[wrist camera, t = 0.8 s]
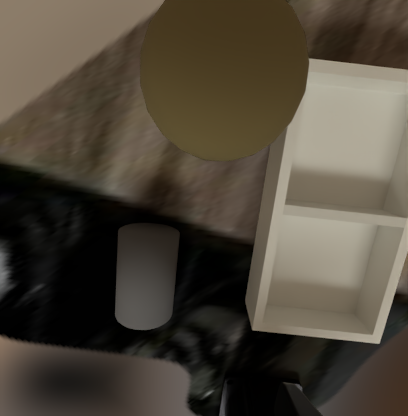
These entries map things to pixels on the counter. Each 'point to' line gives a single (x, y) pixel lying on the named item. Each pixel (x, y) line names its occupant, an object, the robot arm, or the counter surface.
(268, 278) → the slot tray
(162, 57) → the cork
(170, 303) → the dark grey cylinder
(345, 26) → the counter surface
